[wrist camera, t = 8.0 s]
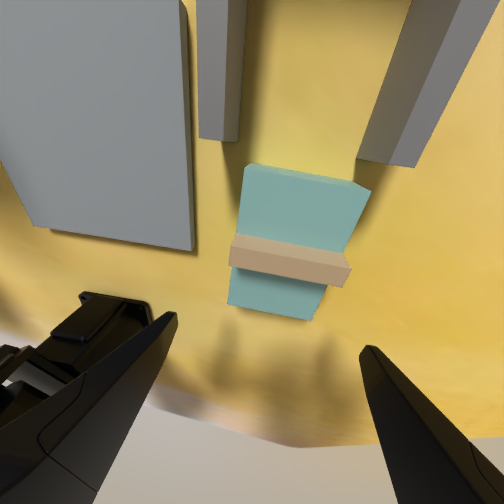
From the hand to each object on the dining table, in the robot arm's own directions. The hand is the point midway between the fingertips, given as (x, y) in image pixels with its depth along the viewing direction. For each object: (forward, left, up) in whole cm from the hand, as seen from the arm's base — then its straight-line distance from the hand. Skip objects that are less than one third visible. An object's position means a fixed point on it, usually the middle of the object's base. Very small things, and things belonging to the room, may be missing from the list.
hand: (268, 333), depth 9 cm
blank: (+2, -1, -7) cm, 7 cm away
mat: (+6, +12, -6) cm, 15 cm away
